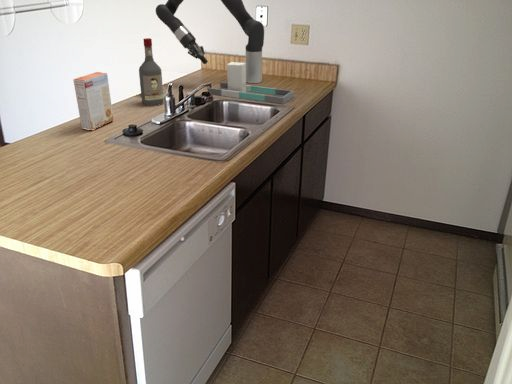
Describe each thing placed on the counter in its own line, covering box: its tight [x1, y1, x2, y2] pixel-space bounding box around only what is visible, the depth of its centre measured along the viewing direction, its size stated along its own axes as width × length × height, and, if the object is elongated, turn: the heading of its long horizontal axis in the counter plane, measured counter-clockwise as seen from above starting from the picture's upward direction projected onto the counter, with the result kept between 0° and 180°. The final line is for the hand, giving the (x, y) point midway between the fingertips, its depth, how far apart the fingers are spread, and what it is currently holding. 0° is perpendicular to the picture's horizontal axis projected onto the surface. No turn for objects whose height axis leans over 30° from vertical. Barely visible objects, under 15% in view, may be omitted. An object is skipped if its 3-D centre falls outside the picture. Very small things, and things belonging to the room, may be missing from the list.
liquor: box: [138, 37, 165, 106], centre depth 222 cm, size 9×9×30 cm
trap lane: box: [207, 81, 295, 105], centre depth 244 cm, size 15×42×3 cm, turn 66°
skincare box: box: [226, 61, 247, 93], centre depth 244 cm, size 8×7×16 cm
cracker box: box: [73, 71, 114, 129], centre depth 193 cm, size 14×6×21 cm, turn 157°
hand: (206, 62), depth 248 cm, fingers closed
